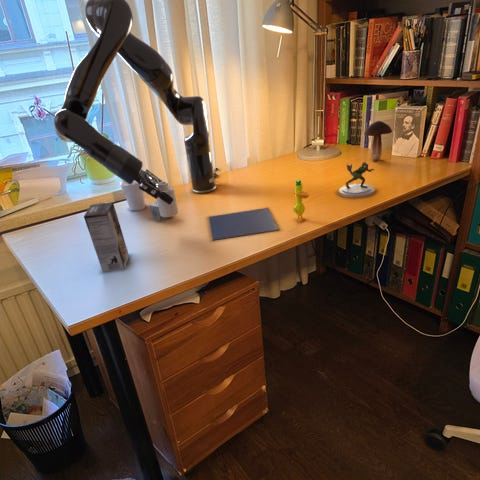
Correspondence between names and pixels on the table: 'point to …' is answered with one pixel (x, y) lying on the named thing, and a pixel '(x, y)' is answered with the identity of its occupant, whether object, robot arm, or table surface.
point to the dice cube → (156, 212)
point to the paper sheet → (242, 224)
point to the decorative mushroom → (377, 137)
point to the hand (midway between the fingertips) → (171, 198)
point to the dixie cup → (133, 195)
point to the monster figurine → (357, 189)
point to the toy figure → (299, 200)
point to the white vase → (163, 207)
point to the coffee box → (107, 236)
